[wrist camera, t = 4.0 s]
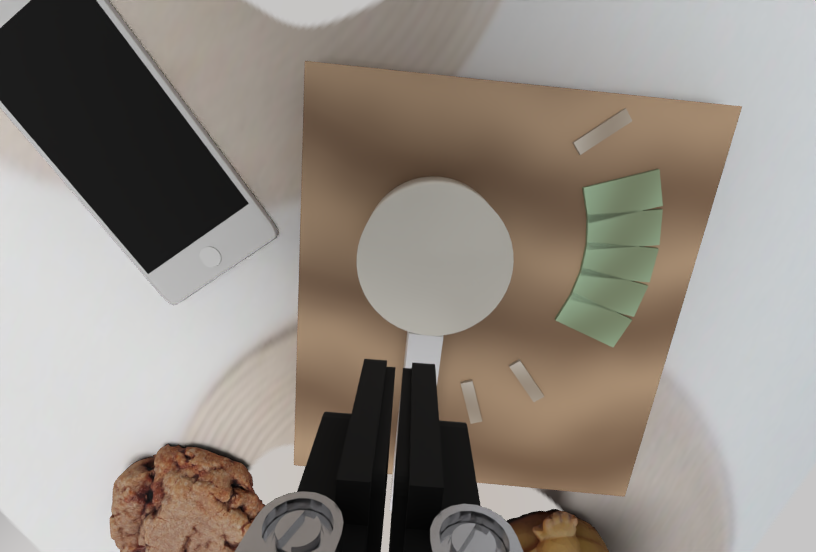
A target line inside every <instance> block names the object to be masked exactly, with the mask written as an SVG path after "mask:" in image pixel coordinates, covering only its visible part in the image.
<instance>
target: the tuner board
mask: <svg viewBox="0 0 816 552" xmlns="http://www.w3.org/2000/svg"><path fill="white" fill-rule="evenodd" d="M741 108H742V107H741V106H732V105H722V104H712V103H703V102H693V101H684V100H674V99H665V98H655V97H645V96H636V95H626V94H617V93H607V92H598V91H588V90H579V89H569V88H559V87H550V86H540V85H531V84H521V83H512V82H502V81H492V80H483V79H473V78H464V77H454V76H445V75H435V74H425V73H416V72H406V71H397V70H387V69H378V68H368V67H359V66H349V65H339V64H330V63H320V62H311V61H305V74H304V110H303V147H302V184H301V221H300V257H299V294H298V331H297V368H296V404H295V441H294V465H298V466H306V464H307V461H308V458H309V455H310V452H311V449H312V446H313V443H314V440H315V437H316V434H317V431H318V428H319V425H320V422H321V419H322V416H323V414H324V412H338V413H351V414H352V409H353V405H354V401H355V397H356V392H357V388H358V384H359V379H360V375H361V371H362V366H363V362H364V359H375V360H387V367H396V369H395V382H394V395H393V409H392V422H391V435H390V448H389V461H388V474H392V472H393V461H394V451H395V442H396V432H397V423H398V414H399V404H400V395H401V385H402V373H403V367H404V358H405V348H406V339H407V331H405V330H403V329H401V328H398V327H397V326H395V325H393V324H391V323H390V322H388V321H387V320H386V319H384V318H383V317H382V316H381V315H380V314H379V313H378V312H377V311H376V310H375V309H374V308H373V307H372V305H371V304H370V303H369V301H368V299H367V298H366V296H365V294H364V292H363V290H362V287H361V285H360V281H359V278H358V273H357V250H358V245H359V241H360V238H361V235H362V233H363V230H364V228H365V226H366V224H367V222H368V220H369V218H370V216H371V215H372V213H373V211H374V209H375V208H376V206H377V205H378V203H379V202H380V201H381V200H382V199H383V198H384V197H385V196H386V195H387V194H388V193H389V192H390V191H392V190H393V189H394V188H396V187H397V186H399V185H401V184H403V183H405V182H408V181H410V180H413V179H417V178H421V177H431V176H433V177H445V178H450V179H453V180H457V181H459V182H461V183H464V184H466V185H468V186H469V187H471V188H472V189H474V190H475V191H476V192H477V193H479V194H480V195H481V196H482V197H483V198H484V200H485V201H486V202H487V203H488V204H489V205H490V206H491V207H492V208H493V210H494V211H495V212H496V213H497V214H498V215H499V217H500V218H501V220H502V221H503V223H504V224H505V227H506V229H507V231H508V233H509V236H510V239H511V242H512V248H513V260H514V263H513V272H512V276H511V280H510V283H509V286H508V288H507V291H506V293H505V295H504V296H503V298H502V300H501V301H500V303H499V304H498V305H497V307H496V308H495V309H494V310H493V311H492V312H491V313H490V314H489V315H488V316H487V317H485V318H484V319H483V320H482V321H480V322H479V323H477V324H475V325H474V326H472V327H470V328H468V329H466V330H463V331H460V332H457V333H453V334H448V335H443V344H442V351H441V359H440V366H439V374H438V381H437V397H438V411H439V420H441V421H453V422H465V423H466V424H467V427H468V433H469V439H470V445H471V451H472V457H473V463H474V469H475V476H476V482H477V483H488V484H499V485H509V486H520V487H530V488H540V489H551V490H562V491H572V492H583V493H593V494H604V495H614V496H625V494H626V490H627V487H628V484H629V480H630V477H631V474H632V470H633V467H634V464H635V461H636V457H637V454H638V451H639V447H640V444H641V441H642V437H643V434H644V431H645V427H646V424H647V421H648V417H649V414H650V411H651V407H652V404H653V401H654V397H655V394H656V391H657V387H658V384H659V381H660V377H661V374H662V371H663V367H664V364H665V361H666V358H667V354H668V351H669V348H670V344H671V341H672V338H673V334H674V331H675V328H676V324H677V321H678V318H679V314H680V311H681V308H682V304H683V301H684V298H685V294H686V291H687V288H688V284H689V281H690V278H691V274H692V271H693V268H694V264H695V261H696V258H697V254H698V251H699V248H700V245H701V241H702V238H703V235H704V231H705V228H706V225H707V221H708V218H709V215H710V211H711V208H712V205H713V201H714V198H715V195H716V191H717V188H718V185H719V181H720V178H721V175H722V171H723V168H724V165H725V161H726V158H727V155H728V151H729V148H730V145H731V141H732V138H733V135H734V132H735V128H736V125H737V122H738V118H739V115H740V112H741Z"/></svg>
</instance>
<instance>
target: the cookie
mask: <svg viewBox="0 0 816 552" xmlns="http://www.w3.org/2000/svg"><path fill="white" fill-rule="evenodd" d="M252 486H253V480H252V476H251V474H250V473H249V472H248V469H247V468H246V467H245V466H244V465H243V464H242V463H240V462H236V461H232V460H231V459H229V458H227V457H223V456H219V455H217V454H215V453H212V452H210V451H208V450H203V449H200V448H198V447H187V448H186V446H185V448H181V447H180V446H179V445H178V446H175V447H171V446H169V444H167V445H166V446H164V447H162V448H160V450H159V451H158V452H157V454H156V455H153V457H148V458H145V459H142V460H140V461H137V462H135V463H134V464H132V465H131V466H130V467H129V468H127V469H126V470H125V471H124V472H123V473H122V474H121V475H120V476H119V477H118V478H117V480H116V481H115V483H114V488H113V503H112V509H111V512H112V516H111V517H110V532H111V538H112V539H113V540H115V543H116V546H117V547H118V548H119V549H120V552H235V550H236V548H237V547H238V545H239V544H240V542H241V540H242V539H243V537H244V535H245V534H246V532H247V531H248V529H249V527H250V526H251V524H252V522H253V521H254V519H255V517H256V516H257V515H258V514H259V512H260V511H261V510H262V509H263V508H264V506H265V505H264V504H262V500H259V497H258V496H257V495H256V494H255V492H254V490H253V488H252Z"/></svg>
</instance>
